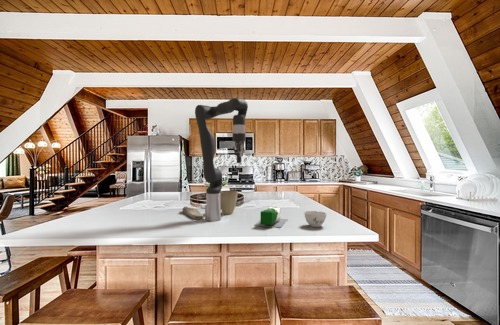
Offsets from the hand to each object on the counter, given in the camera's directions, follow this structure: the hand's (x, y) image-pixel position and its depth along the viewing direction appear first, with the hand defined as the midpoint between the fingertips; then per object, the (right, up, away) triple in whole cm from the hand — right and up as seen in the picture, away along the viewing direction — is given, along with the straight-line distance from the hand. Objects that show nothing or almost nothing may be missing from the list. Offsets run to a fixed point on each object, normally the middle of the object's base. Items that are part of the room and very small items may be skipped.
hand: (238, 162), depth 153 cm
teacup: (+45, -37, +3) cm, 58 cm away
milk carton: (+16, -32, -3) cm, 36 cm away
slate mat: (+20, -37, +10) cm, 43 cm away
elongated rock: (-34, -38, +33) cm, 61 cm away
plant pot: (-10, -37, +39) cm, 55 cm away
